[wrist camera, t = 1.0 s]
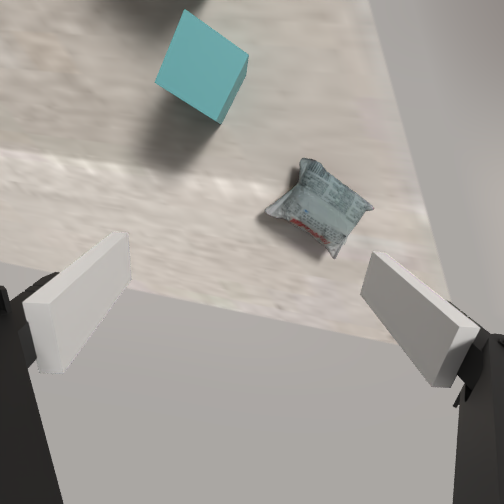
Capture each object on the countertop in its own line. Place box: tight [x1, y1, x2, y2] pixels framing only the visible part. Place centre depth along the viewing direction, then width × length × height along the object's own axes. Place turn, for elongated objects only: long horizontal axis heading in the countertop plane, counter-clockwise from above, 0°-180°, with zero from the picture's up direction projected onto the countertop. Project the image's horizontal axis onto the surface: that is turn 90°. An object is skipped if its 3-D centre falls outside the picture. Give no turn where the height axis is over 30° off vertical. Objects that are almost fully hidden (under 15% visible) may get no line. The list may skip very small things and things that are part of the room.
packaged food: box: [265, 158, 374, 259], centre depth 37 cm, size 9×12×5 cm
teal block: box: [155, 9, 249, 124], centre depth 28 cm, size 6×6×9 cm
